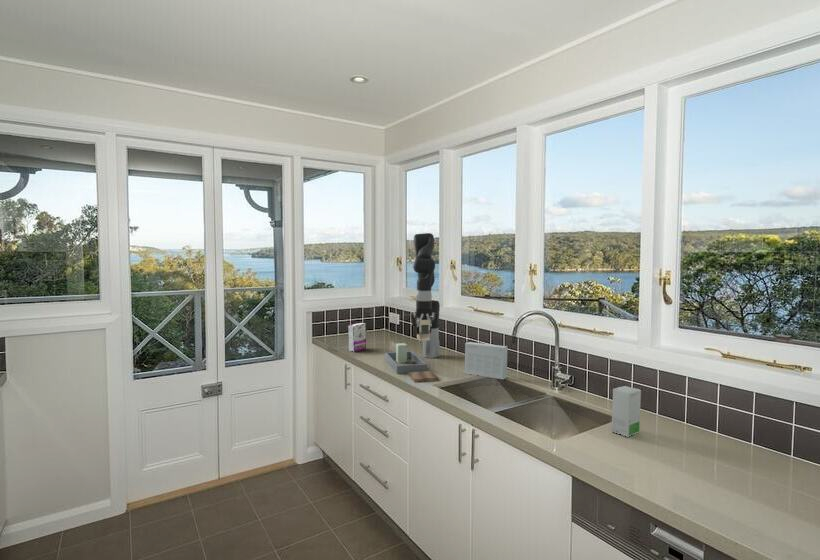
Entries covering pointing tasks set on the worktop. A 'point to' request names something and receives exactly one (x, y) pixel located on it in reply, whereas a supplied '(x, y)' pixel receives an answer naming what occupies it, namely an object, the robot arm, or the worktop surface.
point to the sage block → (401, 353)
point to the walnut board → (423, 376)
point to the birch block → (424, 330)
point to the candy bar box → (357, 337)
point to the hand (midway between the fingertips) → (423, 333)
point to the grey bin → (416, 367)
